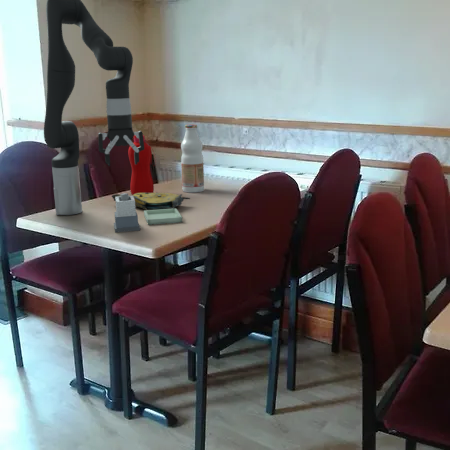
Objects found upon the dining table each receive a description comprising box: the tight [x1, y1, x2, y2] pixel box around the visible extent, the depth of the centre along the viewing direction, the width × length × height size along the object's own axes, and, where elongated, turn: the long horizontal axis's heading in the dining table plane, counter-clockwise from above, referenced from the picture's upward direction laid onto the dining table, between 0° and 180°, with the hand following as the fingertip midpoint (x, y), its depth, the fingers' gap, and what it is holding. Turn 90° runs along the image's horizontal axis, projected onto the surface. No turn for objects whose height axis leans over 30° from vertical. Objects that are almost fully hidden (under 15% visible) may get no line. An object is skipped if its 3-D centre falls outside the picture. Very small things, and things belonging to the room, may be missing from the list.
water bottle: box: [127, 134, 157, 196], centre depth 237 cm, size 9×11×25 cm
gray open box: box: [115, 195, 137, 217], centre depth 186 cm, size 6×8×5 cm
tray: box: [143, 207, 183, 226], centre depth 199 cm, size 12×14×2 cm
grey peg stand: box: [113, 192, 141, 233], centre depth 187 cm, size 8×8×12 cm
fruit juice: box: [180, 124, 205, 194], centre depth 243 cm, size 9×9×28 cm
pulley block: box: [111, 192, 191, 211], centre depth 217 cm, size 14×6×30 cm
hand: (122, 164), depth 183 cm, fingers open, 8 cm apart
